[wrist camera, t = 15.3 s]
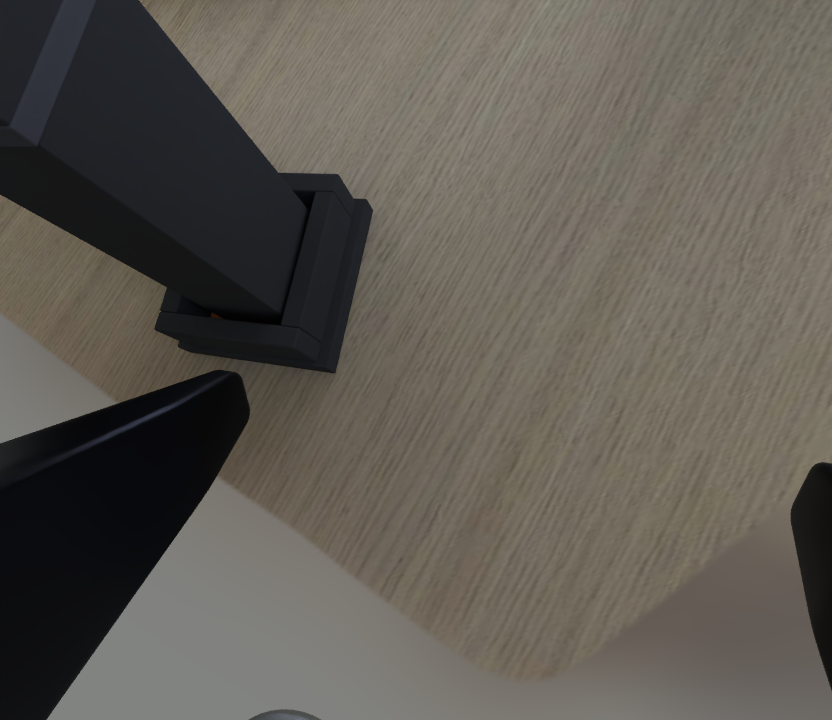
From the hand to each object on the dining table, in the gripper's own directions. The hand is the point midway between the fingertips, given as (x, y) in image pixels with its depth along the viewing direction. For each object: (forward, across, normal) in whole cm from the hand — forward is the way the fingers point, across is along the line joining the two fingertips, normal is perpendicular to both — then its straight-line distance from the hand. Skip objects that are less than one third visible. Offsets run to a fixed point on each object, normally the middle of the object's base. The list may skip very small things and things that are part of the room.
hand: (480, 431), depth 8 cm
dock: (+14, +12, +4) cm, 19 cm away
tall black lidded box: (+13, +12, +3) cm, 18 cm away
